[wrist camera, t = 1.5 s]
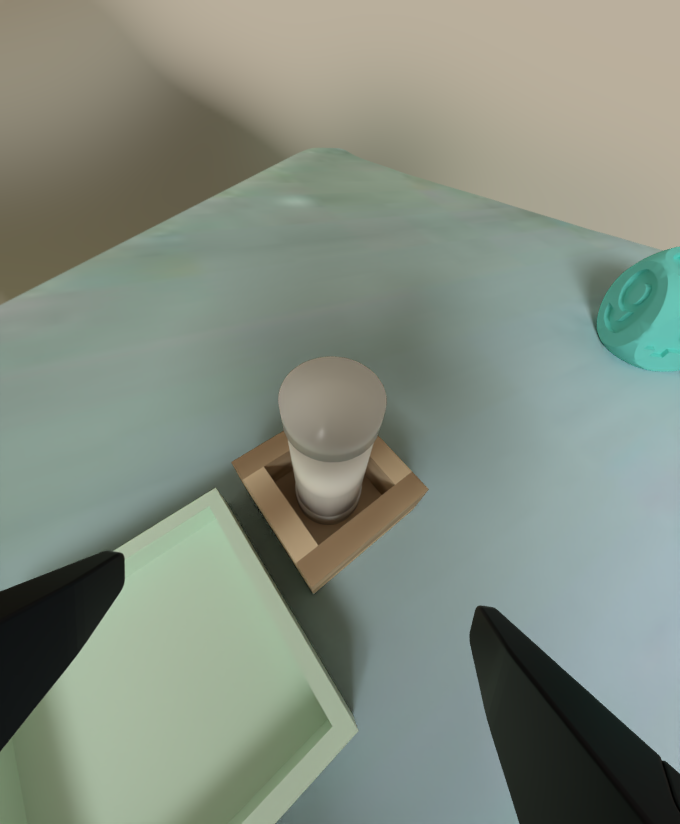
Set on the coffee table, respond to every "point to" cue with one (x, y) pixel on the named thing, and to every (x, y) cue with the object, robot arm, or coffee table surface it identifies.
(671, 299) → the decorative dice
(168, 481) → the coffee table surface
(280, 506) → the tan square frame block
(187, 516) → the parts tray
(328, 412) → the ball
